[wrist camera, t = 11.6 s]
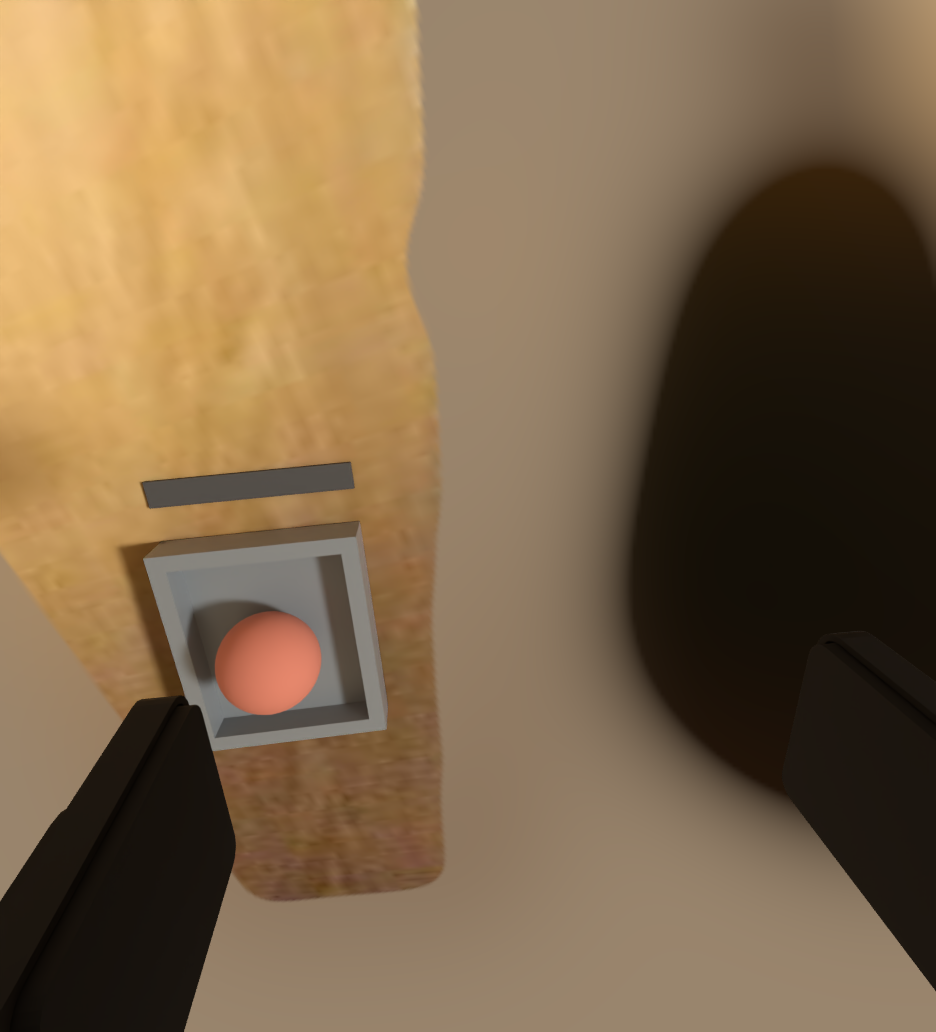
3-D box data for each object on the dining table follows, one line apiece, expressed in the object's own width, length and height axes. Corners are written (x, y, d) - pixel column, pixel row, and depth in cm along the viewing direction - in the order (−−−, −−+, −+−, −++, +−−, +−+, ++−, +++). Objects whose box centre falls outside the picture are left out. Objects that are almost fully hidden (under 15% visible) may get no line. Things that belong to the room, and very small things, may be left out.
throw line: (143, 481, 33) (142, 482, 33) (350, 461, 34) (350, 462, 34) (151, 507, 34) (149, 508, 33) (354, 487, 34) (354, 488, 34)
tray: (161, 541, 34) (142, 558, 32) (359, 521, 35) (355, 536, 33) (214, 725, 39) (202, 752, 37) (387, 704, 40) (386, 729, 38)
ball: (223, 598, 36) (186, 654, 30) (320, 588, 36) (301, 642, 30) (244, 677, 38) (213, 743, 32) (335, 667, 38) (320, 731, 32)
